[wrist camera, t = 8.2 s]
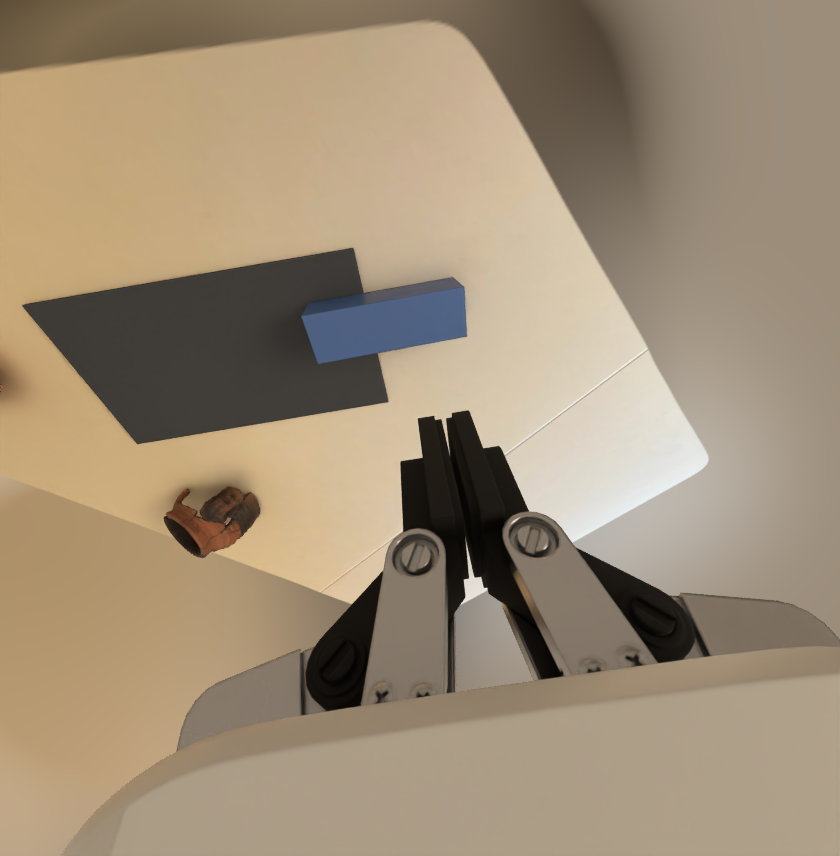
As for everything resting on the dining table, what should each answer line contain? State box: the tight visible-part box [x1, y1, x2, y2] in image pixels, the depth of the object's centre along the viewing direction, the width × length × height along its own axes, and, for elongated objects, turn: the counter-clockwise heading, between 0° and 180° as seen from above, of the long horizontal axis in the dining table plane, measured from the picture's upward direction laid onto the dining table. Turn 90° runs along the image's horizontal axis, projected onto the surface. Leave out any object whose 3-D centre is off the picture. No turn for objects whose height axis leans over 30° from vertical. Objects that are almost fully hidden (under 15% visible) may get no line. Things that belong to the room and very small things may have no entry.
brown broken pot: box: [164, 487, 260, 558], centre depth 42 cm, size 12×10×8 cm
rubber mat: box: [22, 248, 388, 444], centre depth 34 cm, size 16×30×1 cm, turn 98°
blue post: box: [301, 277, 467, 364], centre depth 30 cm, size 4×4×14 cm
